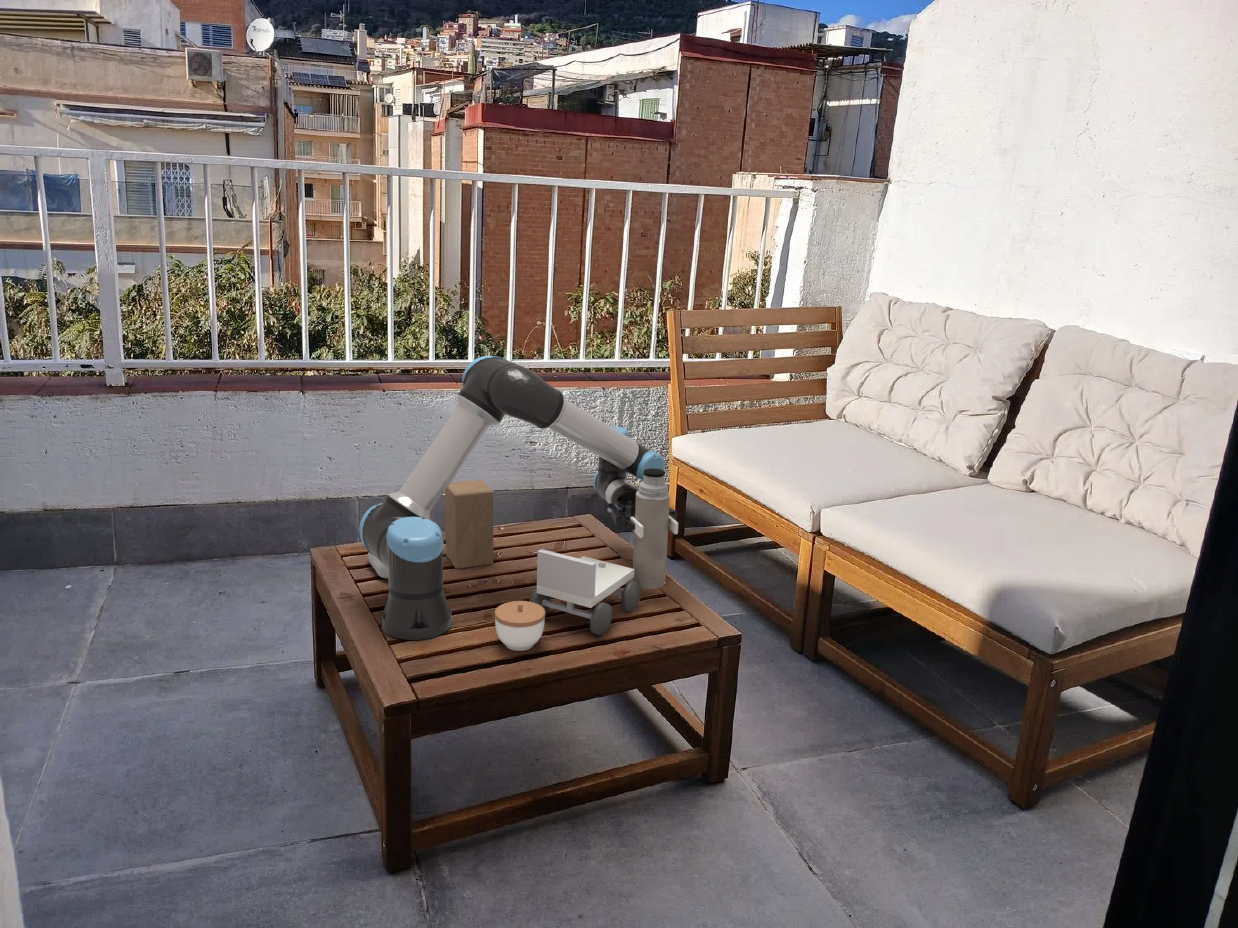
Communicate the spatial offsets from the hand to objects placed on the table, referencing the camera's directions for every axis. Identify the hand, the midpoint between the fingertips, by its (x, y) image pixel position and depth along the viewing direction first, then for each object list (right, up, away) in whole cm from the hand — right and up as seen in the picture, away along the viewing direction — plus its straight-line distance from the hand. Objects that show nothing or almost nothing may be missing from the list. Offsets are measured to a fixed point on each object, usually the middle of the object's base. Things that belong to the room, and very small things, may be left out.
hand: (659, 530), depth 225 cm
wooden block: (-48, -10, +27) cm, 56 cm away
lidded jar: (-31, -24, -16) cm, 42 cm away
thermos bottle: (-2, -13, +9) cm, 16 cm away
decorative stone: (-66, -12, +20) cm, 70 cm away
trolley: (-17, -19, 0) cm, 26 cm away
